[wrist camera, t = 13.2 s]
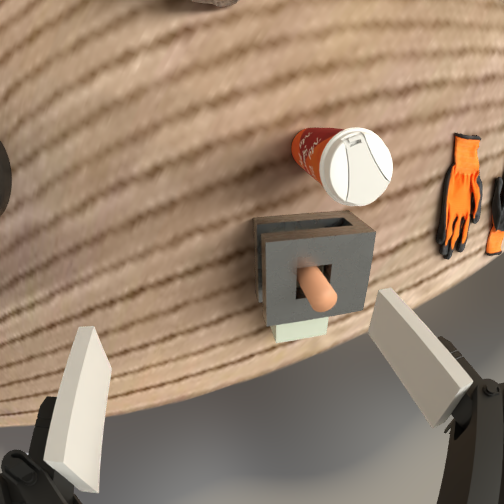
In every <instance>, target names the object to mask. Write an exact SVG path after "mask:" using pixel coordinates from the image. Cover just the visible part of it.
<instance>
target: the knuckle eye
mask: <svg viewBox="0 0 504 504" xmlns="http://www.w3.org/2000/svg"><path fill="white" fill-rule="evenodd" d="M317 267H318V268H319V269H320V271H321V272H322V274H323V269H324V265H320V266H317ZM296 288H300V285H299V283H298V281H296ZM328 318H329V317H324V318H318V319H312V320H306V321H300V322H294V323H287V324H281V325H274V326H270V327H271V330H272V333H273V336H274V339H275V341H276V343H280V342H286V341H292V340H298V339H304V338H310V337H315V336H321V335H326V332H327V325H328Z"/></svg>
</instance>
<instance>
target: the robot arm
mask: <svg viewBox="0 0 504 504" xmlns="http://www.w3.org/2000/svg"><path fill="white" fill-rule="evenodd" d="M11 180H12V178H11V167H10V162H9V159H8V155H7V153H6V150H5V148H4V146H3V144H2V143H1V141H0V216H1V215H2V214H3V212H4V210H5V208H6V206H7V204H8V201H9V197H10V192H11ZM368 334H369V335H370V337H371V338H372V340H373V341H374V342H375V344H376V345H377V347H378V348H379V350H380V351H381V352H382V354H383V355H384V357H385V358H386V360H387V361H388V363H389V364H390V366H391V367H392V368H393V370H394V371H395V373H396V374H397V376H398V377H399V379H400V380H401V382H402V383H403V385H404V386H405V388H406V389H407V391H408V392H409V394H410V395H411V397H412V398H413V400H414V401H415V403H416V404H417V406H418V407H419V409H420V410H421V412H422V414H423V415H424V417H425V418H426V420H427V421H428V423H429V424H430V426H431V428H434V427H436V426H438V425H440V424H442V423H444V422H445V421H446V420H447V419H448V417H449V416H450V415H451V414H452V416H453V417H454V419H453V420H452V421H451V423H450V424H449V425H448V426H447V428H446V429H445V431H444V433H447V431H448V430H449V429H450V428H451V431H450V433H449V434H450V438H449V445H448V452H447V458H446V464H445V469H444V474H443V479H442V484H441V489H440V493H439V497H438V501H437V504H504V383H501V384H498V383H497V382H495V381H493V380H491V379H482V378H481V377H480V376H479V375H478V373H477V372H476V371H475V370H474V369H473V368H472V367H471V365H470V364H469V363H468V362H467V361H466V359H465V358H464V357H462V355H461V353H460V352H459V351H457V349H456V348H455V347H454V346H453V344H452V343H451V342H450V341H448V340H446V339H445V338H443V337H441V336H440V337H438V338H437V337H436V336H435V335H434V334H433V333H432V332H431V330H430V329H429V328H428V327H427V326H426V325H425V324H424V323H423V322H422V320H421V319H419V317H418V316H417V315H416V314H415V313H414V312H413V311H412V309H411V308H410V307H409V306H408V305H407V304H406V303H405V302H404V301H403V300H402V299H401V298H400V297H399V296H398V294H397V293H396V292H395V291H394V290H393V289H392V288H386V289H381V290H378V294H377V298H376V303H375V307H374V311H373V315H372V318H371V322H370V326H369V330H368ZM111 372H112V368H111V365H110V363H109V361H108V359H107V356H106V354H105V352H104V349H103V347H102V345H101V342H100V340H99V337H98V335H97V332H96V330H95V327H94V326H86V327H79V328H78V331H77V334H76V337H75V340H74V342H73V345H72V349H71V352H70V355H69V358H68V361H67V364H66V368H65V371H64V374H63V378H62V381H61V385H60V388H59V392H58V396H57V397H49V396H47V397H46V399H45V400H44V401H43V403H42V404H41V406H40V409H39V412H38V416H37V417H38V419H37V420H36V424H35V428H34V432H33V436H32V440H31V445H30V449H29V454H28V455H27V454H26V453H25V452H23V451H21V450H12V451H10V452H8V453H7V454H6V455H5V456H4V458H3V460H2V465H1V469H2V473H1V474H0V504H82V503H81V502H80V500H79V499H78V498H77V496H76V495H75V494H74V493H73V492H74V486H75V487H76V488H77V489H79V490H80V491H85V492H94V493H98V492H99V476H100V461H101V449H102V438H103V429H104V420H105V412H106V405H107V397H108V391H109V384H110V378H111Z"/></svg>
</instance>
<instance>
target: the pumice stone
mask: <svg viewBox="0 0 504 504" xmlns="http://www.w3.org/2000/svg"><path fill="white" fill-rule="evenodd" d="M191 1H193V2H198V3H209V4H213V5H215V6H218V7H224V6H229V5H232V4H235V3H237V2H238V1H239V0H191Z"/></svg>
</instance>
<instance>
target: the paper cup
mask: <svg viewBox="0 0 504 504" xmlns="http://www.w3.org/2000/svg"><path fill="white" fill-rule="evenodd" d="M291 151H292V155H293V158H294V160H295V161H296V162H297V163H298V165H299V166H301V167H302V168H303V169H304V170H305V171H306V172H307V173H309V174H310V175H311V176H312V177H313V178H314V179H315V180H317V181H318V182H319V183H320V184H321V185H322V186H323V187H324V189H325V190H326V192H327V193H328V195H329V196H330V197H331V198H333V199H334V200H335V201H337V202H338V203H341V204H343V205H348V206H364V205H367V204H370V203H372V202H373V201H375V200H376V199H377V198H378V197H379V196H380V195H381V194H382V193H383V192H384V191H385V189H386V188H387V186H388V184H389V183H390V180H391V177H392V171H393V164H392V158H391V155H390V152H389V150H388V148H387V147H386V145H385V144H384V142H383V141H382V140H381V139H380V138H379V136H378V135H376V134H375V133H374V132H372V131H370V130H368V129H364V128H358V127H356V128H349V129H336V128H307V129H304V130H302V131H300V132H299V133H298V134H297V135H296V136H295V138H294V139H293V142H292V146H291Z"/></svg>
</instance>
